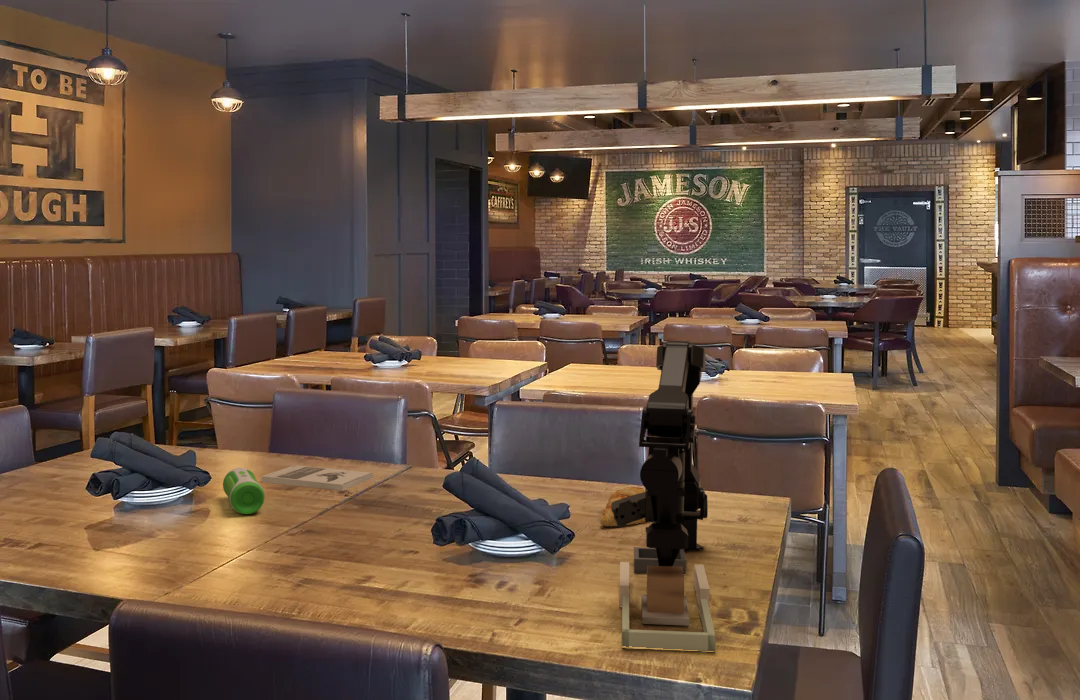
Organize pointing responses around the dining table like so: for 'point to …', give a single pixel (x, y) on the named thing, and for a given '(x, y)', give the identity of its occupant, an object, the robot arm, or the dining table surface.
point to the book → (317, 477)
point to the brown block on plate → (665, 597)
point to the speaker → (243, 491)
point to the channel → (699, 582)
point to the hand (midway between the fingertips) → (664, 576)
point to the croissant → (608, 516)
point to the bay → (670, 633)
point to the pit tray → (653, 559)
